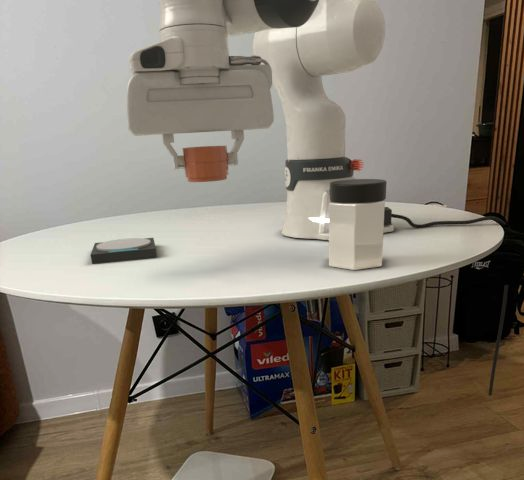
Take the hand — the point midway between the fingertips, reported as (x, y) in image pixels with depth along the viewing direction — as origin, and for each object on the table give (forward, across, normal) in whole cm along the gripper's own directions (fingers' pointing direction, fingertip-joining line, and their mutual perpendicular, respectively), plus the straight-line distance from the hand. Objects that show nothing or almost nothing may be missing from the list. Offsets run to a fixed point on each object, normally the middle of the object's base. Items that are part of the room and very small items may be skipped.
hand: (205, 167), depth 72 cm
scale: (+15, +14, -19) cm, 28 cm away
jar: (+15, -21, +6) cm, 27 cm away
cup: (+2, 0, 0) cm, 2 cm away
